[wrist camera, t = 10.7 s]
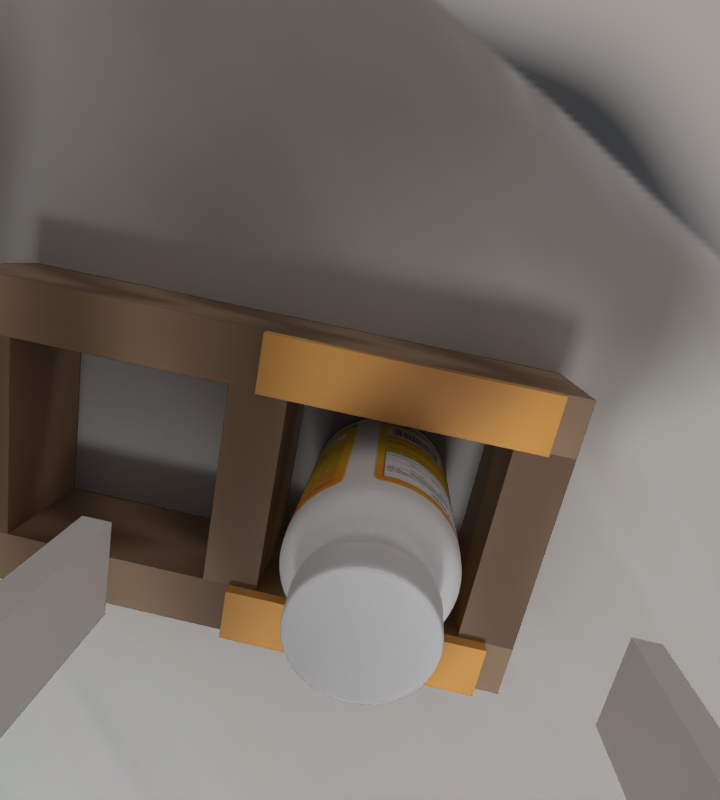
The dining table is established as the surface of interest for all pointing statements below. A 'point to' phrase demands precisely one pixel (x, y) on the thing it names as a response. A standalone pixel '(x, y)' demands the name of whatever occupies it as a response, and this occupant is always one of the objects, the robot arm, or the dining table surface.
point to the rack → (273, 452)
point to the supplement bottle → (370, 565)
